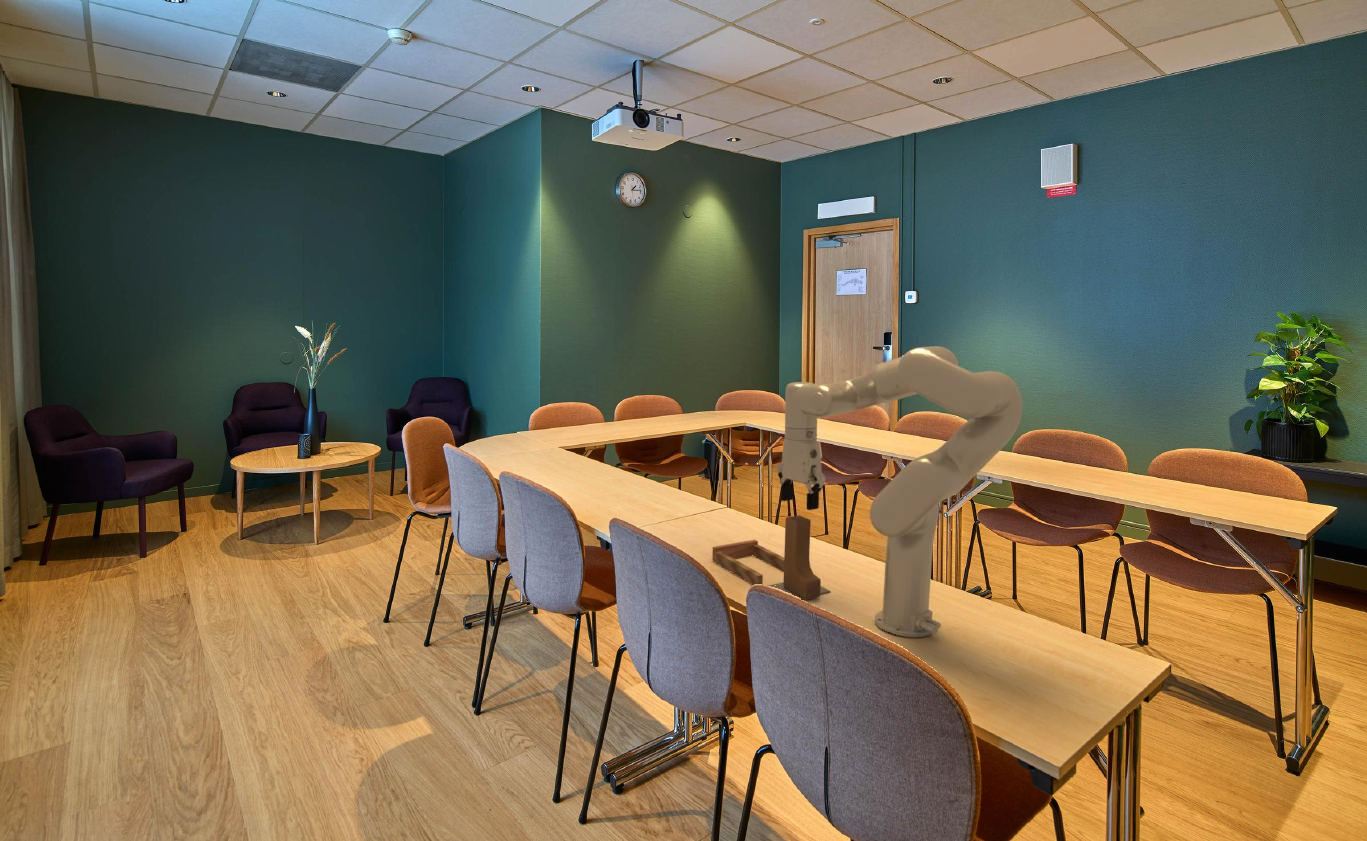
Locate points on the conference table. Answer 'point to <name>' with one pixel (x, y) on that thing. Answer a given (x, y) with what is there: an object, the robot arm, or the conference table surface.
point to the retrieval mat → (780, 586)
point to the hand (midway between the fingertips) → (799, 504)
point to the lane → (730, 552)
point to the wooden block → (799, 559)
